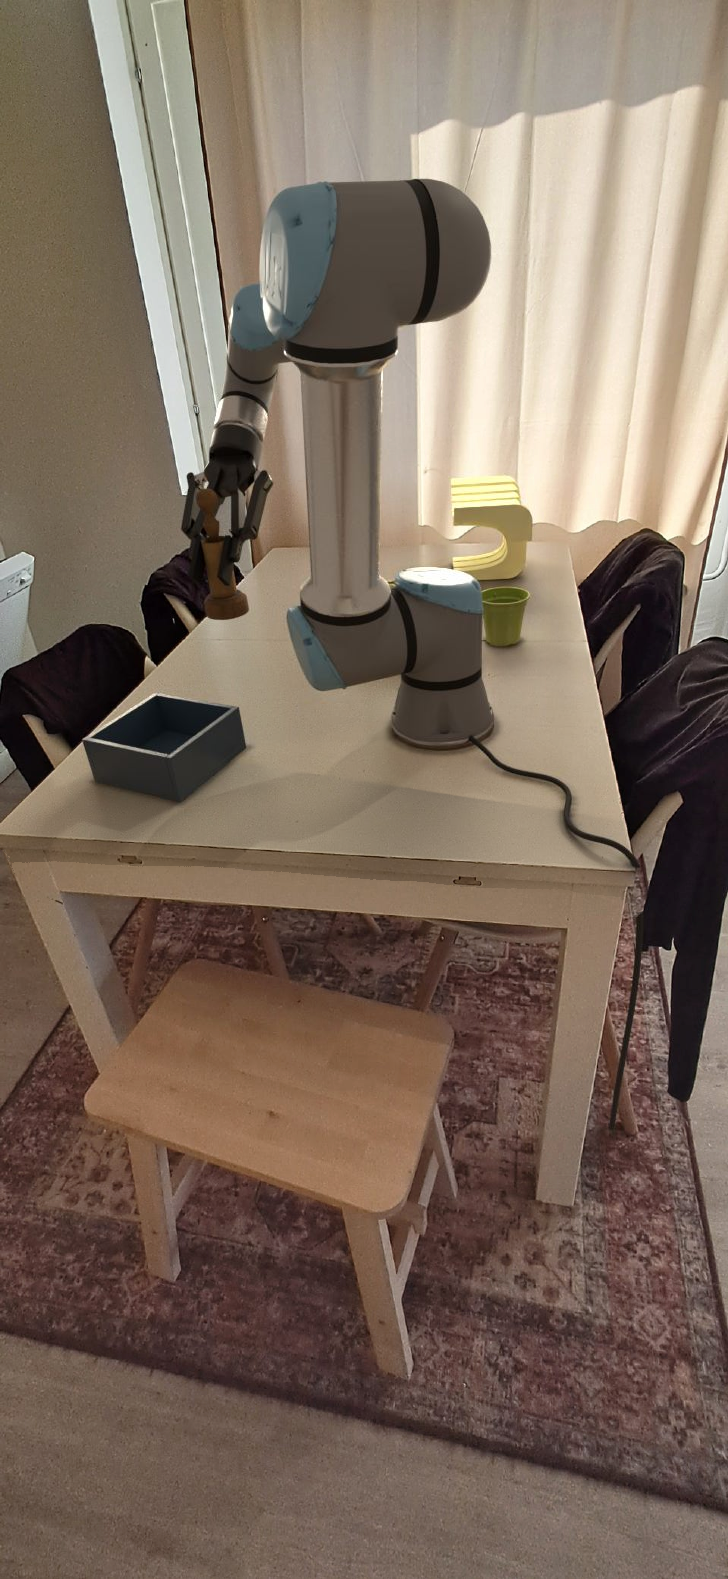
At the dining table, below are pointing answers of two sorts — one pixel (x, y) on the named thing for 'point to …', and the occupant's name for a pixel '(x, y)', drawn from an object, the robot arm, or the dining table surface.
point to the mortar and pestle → (222, 598)
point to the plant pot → (503, 614)
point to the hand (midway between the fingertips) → (209, 580)
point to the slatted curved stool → (492, 524)
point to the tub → (165, 745)
